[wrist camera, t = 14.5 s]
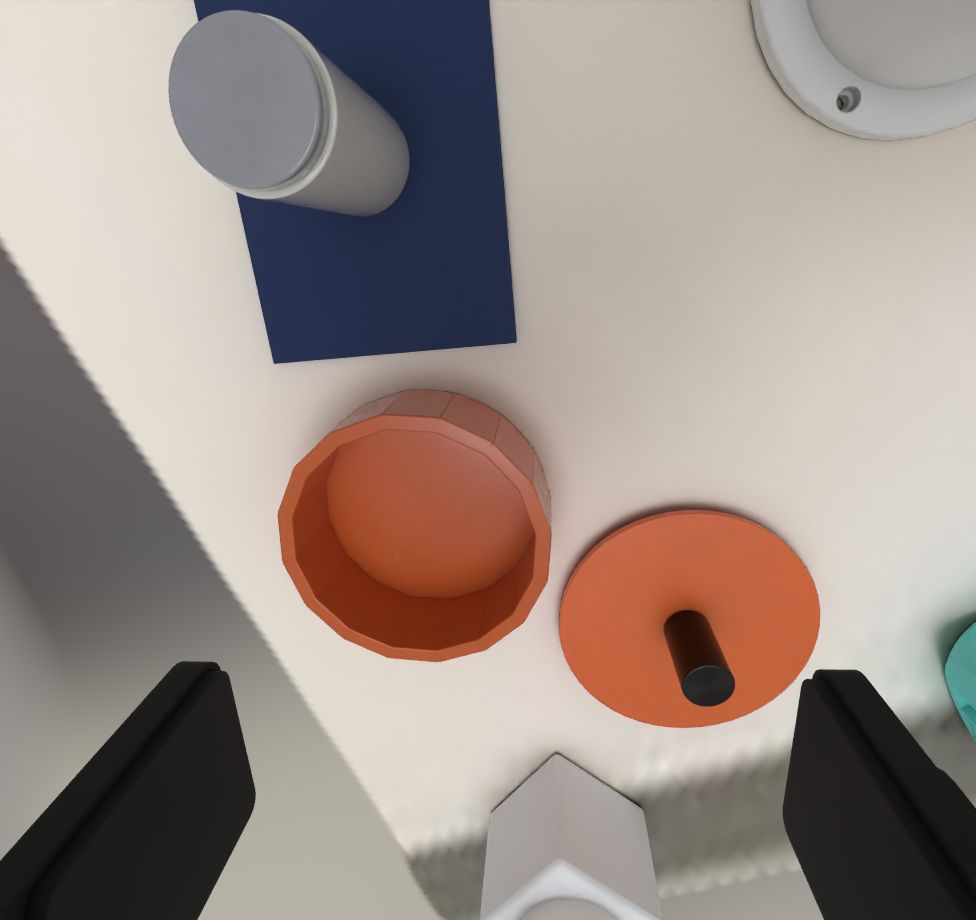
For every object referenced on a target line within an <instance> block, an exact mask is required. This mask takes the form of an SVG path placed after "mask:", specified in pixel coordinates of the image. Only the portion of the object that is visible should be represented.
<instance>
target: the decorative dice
mask: <svg viewBox="0 0 976 920" xmlns="http://www.w3.org/2000/svg"><path fill="white" fill-rule="evenodd" d="M945 677H946V682H947V685H948V688H949V691H950V694H951V696H952V699H953V701H954V703H955V705H956V707H957V710H958V712H959V714H960V716H961V717H962V719H963V721H964V723H965V725H966V727H967V728H968V730H969V732H970V734H971V735H972V737H973V739H974V740H975V742H976V622H974V623H973V624H972V625H971V626H970V627H969V628H968V629H967V630H966V631H965V632H964V633H963V634H962V635H961V636H960V638H959V639H958V640H957V642H956V643H955V645H954V646H953V648H952V650H951V652H950V654H949V657H948V660H947V663H946V666H945Z"/></svg>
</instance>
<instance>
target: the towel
mask: <svg viewBox="0 0 976 920" xmlns="http://www.w3.org/2000/svg"><path fill="white" fill-rule="evenodd" d="M194 3H195V8H196V12H197V17H198V21H201V20H202V19H204V18H205V17H207V16H210V15H212V14H214V13H218V12H222V11H227V10H243V11H249V12H253V13H261V14H265V15H269V16H272V17H275V18H277V19H280V20H282V21H284V22H285V23H287V24H289V25H290V26H292V27H293V28H295V29H296V30H297V31H298V32H300V33H301V34H302V35H303V36H304V37H305V38H307V39H308V40H309V41H310V42H311V43H312V44H313V45H314V46H315V47H317V48H318V49H319V50H320V51H321V52H322V53H323V54H324V55H326V56H327V57H328V58H329V59H330V60H331V61H332V62H333V63H334V64H336V65H337V66H338V67H339V68H340V69H341V70H342V71H343V72H344V73H346V74H347V75H348V76H349V77H350V78H351V79H352V80H353V81H354V82H356V83H357V84H358V85H359V86H360V87H361V88H362V89H363V90H364V91H366V92H367V93H368V94H369V95H370V96H371V97H372V98H373V99H374V100H376V101H377V102H378V103H379V104H380V105H381V106H382V107H383V108H384V109H386V110H387V111H388V112H389V113H390V114H391V115H392V116H393V117H394V119H395V120H396V121H397V123H398V124H399V126H400V128H401V129H402V131H403V134H404V136H405V138H406V142H407V145H408V150H409V172H408V177H407V180H406V183H405V186H404V188H403V190H402V192H401V194H400V195H399V197H398V198H397V199H396V200H395V202H394V203H393V204H392V205H390V206H389V207H388V208H387V209H385V210H383V211H382V212H380V213H377V214H374V215H371V216H365V217H357V216H350V215H344V214H339V213H333V212H328V211H322V210H317V209H312V208H306V207H301V206H295V205H290V204H284V203H279V202H273V201H268V200H263V199H257V198H253V197H249V196H245V195H243V194H240V193H238V192H236V194H237V198H238V203H239V208H240V212H241V217H242V221H243V226H244V230H245V235H246V239H247V244H248V248H249V253H250V257H251V262H252V267H253V271H254V276H255V280H256V285H257V289H258V294H259V298H260V303H261V307H262V312H263V317H264V321H265V326H266V330H267V335H268V339H269V344H270V348H271V353H272V357H273V362H274V364H277V363H289V362H300V361H312V360H323V359H335V358H346V357H358V356H369V355H381V354H392V353H404V352H415V351H427V350H438V349H450V348H461V347H473V346H484V345H496V344H508V343H516V341H517V340H516V327H515V315H514V303H513V291H512V278H511V266H510V254H509V242H508V229H507V217H506V205H505V193H504V181H503V168H502V156H501V144H500V132H499V119H498V107H497V95H496V83H495V70H494V58H493V46H492V34H491V21H490V9H489V0H194Z"/></svg>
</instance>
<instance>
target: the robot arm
mask: <svg viewBox="0 0 976 920" xmlns="http://www.w3.org/2000/svg"><path fill="white" fill-rule="evenodd" d="M751 6H752V12H753V17H754V23H755V29H756V35H757V38H758V41H759V44H760V46H761V49H762V51H763V54H764V57H765V59H766V62H767V64H768V67H769V69H770V70H771V72H772V73H773V75H774V76H775V78H776V80H777V81H778V83H779V84H780V86H781V87H782V89H783V90H784V92H785V93H786V94H787V95H788V96H789V97H790V98H791V99H792V100H793V101H794V102H795V103H796V104H797V105H798V106H799V107H800V108H801V109H802V110H803V111H804V112H805V113H806V114H807V115H809V116H811V117H813V118H814V119H816V120H818V121H819V122H821V123H823V124H824V125H826V126H828V127H829V128H831V129H833V130H837V131H840V132H843V133H846V134H849V135H852V136H856V137H859V138H867V139H879V140H890V141H891V140H899V139H908V138H916V137H924V136H927V135H930V134H934V133H937V132H941V131H945V130H949V129H952V128H955V127H957V126H960V125H962V124H965V123H967V122H970V121H972V120H974V119H976V0H751ZM837 98H841V99H842V100H843V103H844V105H843V108H842V110H841V111H840V110H839V109H838V108H837V103H836V100H837ZM255 795H256V793H255V787H254V782H253V778H252V774H251V769H250V765H249V760H248V756H247V752H246V747H245V743H244V739H243V734H242V730H241V726H240V721H239V717H238V713H237V709H236V704H235V700H234V696H233V691H232V687H231V683H230V679H229V676H228V674H227V673H226V672H225V671H221V669H220V667H219V665H218V664H217V663H215V662H187V661H182V662H179V663H177V664H176V665H175V666H174V667H173V668H172V669H171V670H170V671H169V672H168V673H167V674H166V676H165V677H164V678H163V679H162V680H161V681H160V682H159V683H158V685H157V686H156V687H155V688H154V689H153V690H152V691H151V692H150V693H149V695H148V696H147V697H146V698H145V699H144V700H143V701H142V702H141V704H140V705H139V706H138V707H137V708H136V709H135V710H134V711H133V712H132V714H131V715H130V716H129V717H128V718H127V719H126V720H125V722H124V723H123V724H122V725H121V726H120V727H119V728H118V729H117V730H116V732H115V733H114V734H113V735H112V736H111V737H110V738H109V739H108V741H107V742H106V743H105V744H104V745H103V746H102V747H101V748H100V749H99V751H98V752H97V753H96V754H95V755H94V756H93V757H92V758H91V760H90V761H89V762H88V763H87V764H86V765H85V766H84V767H83V769H82V770H81V771H80V772H79V773H78V774H77V775H76V777H75V778H74V779H73V780H72V781H71V782H70V783H69V785H68V786H66V788H65V789H64V790H63V791H62V792H61V793H60V794H59V795H58V797H57V798H56V799H55V800H54V801H53V802H52V803H51V804H50V806H49V807H48V808H47V809H46V810H45V811H44V813H42V815H41V816H40V817H39V818H38V819H37V820H36V821H35V822H34V824H33V825H32V826H31V827H30V828H29V829H28V830H27V831H26V833H25V834H24V835H23V836H22V837H21V838H20V839H19V840H18V842H17V843H16V844H15V845H14V846H13V847H12V848H11V849H10V851H9V852H8V853H7V854H6V855H5V856H4V857H3V858H2V860H1V861H0V920H197V919H198V917H199V916H200V914H201V912H202V910H203V908H204V906H205V904H206V902H207V900H208V898H209V896H210V894H211V892H212V890H213V888H214V886H215V884H216V882H217V881H218V878H219V877H220V875H221V873H222V871H223V869H224V867H225V865H226V863H227V861H228V859H229V857H230V855H231V853H232V851H233V849H234V847H235V845H236V843H237V842H238V840H239V838H240V836H241V834H242V832H243V830H244V828H245V826H246V824H247V822H248V820H249V818H250V816H251V814H252V811H253V808H254V804H255ZM783 820H784V825H785V829H786V832H787V835H788V838H789V840H790V842H791V844H792V847H793V849H794V851H795V854H796V856H797V858H798V861H799V863H800V865H801V867H802V870H803V872H804V874H805V877H806V879H807V881H808V884H809V886H810V888H811V890H812V893H813V895H814V897H815V900H816V902H817V904H818V906H819V909H820V911H821V913H822V916H823V918H824V920H976V808H975V807H974V806H973V804H972V803H971V802H970V801H969V799H968V798H967V797H966V796H965V794H964V793H963V792H962V791H961V789H960V788H959V787H958V786H957V784H956V783H955V782H954V781H953V780H952V779H951V778H950V777H949V776H948V775H947V774H946V773H945V772H944V771H943V770H941V769H939V768H937V767H936V766H935V765H934V763H933V762H932V761H931V759H930V758H929V757H928V756H927V754H926V753H925V752H924V750H923V749H922V748H921V747H920V745H919V744H918V743H917V742H916V740H915V739H914V738H913V736H912V735H911V734H910V733H909V731H908V730H907V729H906V728H905V726H904V725H903V724H902V722H901V721H900V720H899V719H898V717H897V716H896V715H895V714H894V712H893V711H892V710H891V708H890V707H889V706H888V705H887V703H886V702H885V701H884V700H883V698H882V697H881V696H880V694H879V693H878V692H877V691H876V689H875V688H874V687H873V686H872V684H871V683H870V682H869V680H868V679H867V678H866V677H865V676H864V675H863V674H862V673H861V672H860V671H857V670H824V669H820V670H816V671H815V673H814V674H813V678H812V679H806V680H804V681H803V682H802V686H801V692H800V699H799V705H798V712H797V718H796V725H795V731H794V738H793V744H792V751H791V757H790V764H789V770H788V777H787V783H786V790H785V796H784V803H783Z"/></svg>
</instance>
